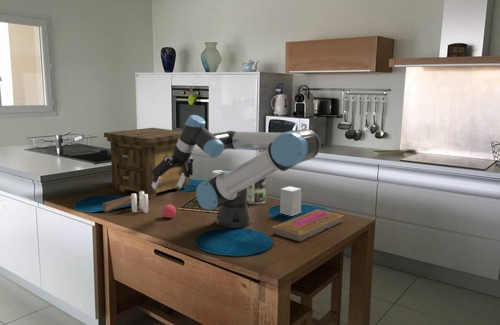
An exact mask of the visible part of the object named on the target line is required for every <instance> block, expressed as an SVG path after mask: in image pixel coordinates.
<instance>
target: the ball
mask: <svg viewBox="0 0 500 325" xmlns="http://www.w3.org/2000/svg"><path fill="white" fill-rule="evenodd" d="M162 214H163V216H164V217H165V218H168V219H171V218H173V217H174V216H175V215H176V214H177V209H176V207H175V206H174V205H172V204H166V205H165V206H163V209H162Z"/></svg>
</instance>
